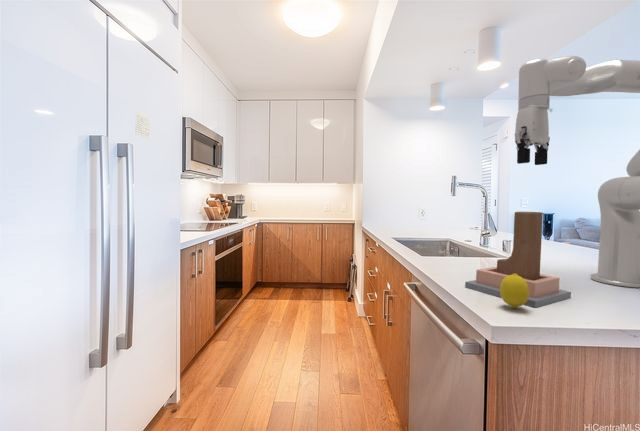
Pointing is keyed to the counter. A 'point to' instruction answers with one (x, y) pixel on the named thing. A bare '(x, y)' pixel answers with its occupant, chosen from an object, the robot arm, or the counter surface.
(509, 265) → the wooden block
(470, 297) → the counter surface
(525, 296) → the lemon
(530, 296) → the baseplate
